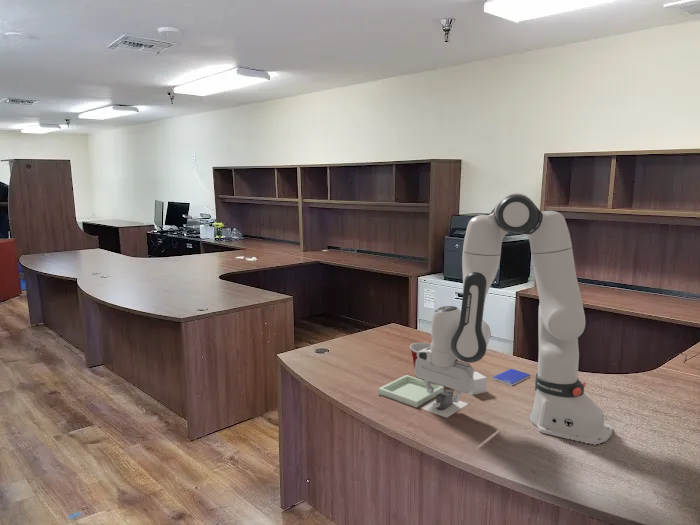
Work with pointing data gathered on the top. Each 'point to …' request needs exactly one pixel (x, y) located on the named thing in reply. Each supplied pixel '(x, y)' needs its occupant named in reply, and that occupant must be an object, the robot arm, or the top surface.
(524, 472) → the top surface
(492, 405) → the top surface
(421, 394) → the tray
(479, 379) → the white cube
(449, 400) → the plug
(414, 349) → the plastic cup
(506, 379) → the hard drive
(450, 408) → the mat
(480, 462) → the top surface
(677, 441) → the top surface
